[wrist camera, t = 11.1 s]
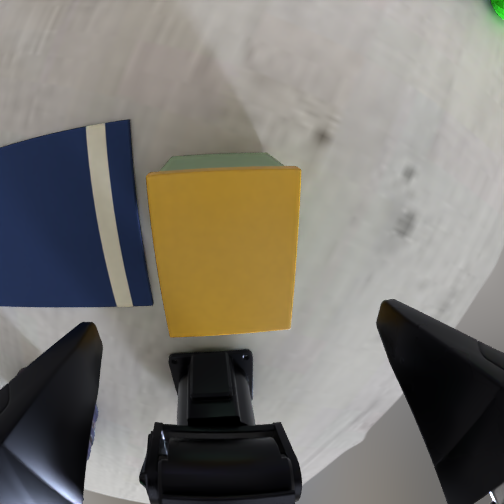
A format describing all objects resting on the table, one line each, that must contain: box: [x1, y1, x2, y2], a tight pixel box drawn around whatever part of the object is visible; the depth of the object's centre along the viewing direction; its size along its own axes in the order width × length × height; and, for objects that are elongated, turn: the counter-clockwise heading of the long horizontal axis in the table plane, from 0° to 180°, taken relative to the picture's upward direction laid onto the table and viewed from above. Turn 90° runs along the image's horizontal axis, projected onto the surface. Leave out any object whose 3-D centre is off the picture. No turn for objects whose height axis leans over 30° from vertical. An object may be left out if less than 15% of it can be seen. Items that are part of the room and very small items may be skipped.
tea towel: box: [0, 120, 153, 307], centre depth 16 cm, size 12×21×1 cm, turn 90°
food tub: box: [146, 153, 301, 337], centre depth 15 cm, size 8×6×6 cm
